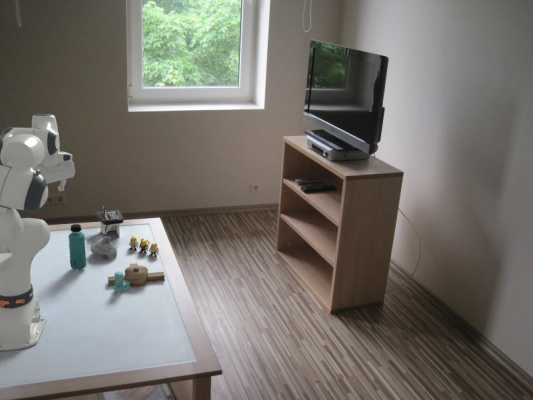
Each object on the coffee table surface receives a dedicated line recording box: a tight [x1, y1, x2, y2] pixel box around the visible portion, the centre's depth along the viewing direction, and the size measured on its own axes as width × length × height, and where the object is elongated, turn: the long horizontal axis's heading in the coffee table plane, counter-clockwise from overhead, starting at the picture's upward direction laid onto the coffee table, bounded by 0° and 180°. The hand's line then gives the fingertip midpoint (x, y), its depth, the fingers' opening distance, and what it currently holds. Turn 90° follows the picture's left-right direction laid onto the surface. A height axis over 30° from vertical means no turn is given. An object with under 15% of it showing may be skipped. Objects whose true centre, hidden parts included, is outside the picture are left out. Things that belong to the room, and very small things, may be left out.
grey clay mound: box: [90, 235, 118, 259], centre depth 250 cm, size 12×12×11 cm
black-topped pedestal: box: [95, 206, 125, 238], centre depth 271 cm, size 28×26×13 cm
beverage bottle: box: [68, 223, 87, 271], centre depth 235 cm, size 6×7×20 cm
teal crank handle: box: [113, 271, 131, 293], centre depth 225 cm, size 6×3×7 cm, turn 148°
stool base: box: [107, 262, 165, 288], centre depth 234 cm, size 16×22×6 cm
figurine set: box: [128, 236, 160, 259], centre depth 256 cm, size 3×16×7 cm, turn 63°
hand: (50, 193), depth 213 cm, fingers open, 8 cm apart
